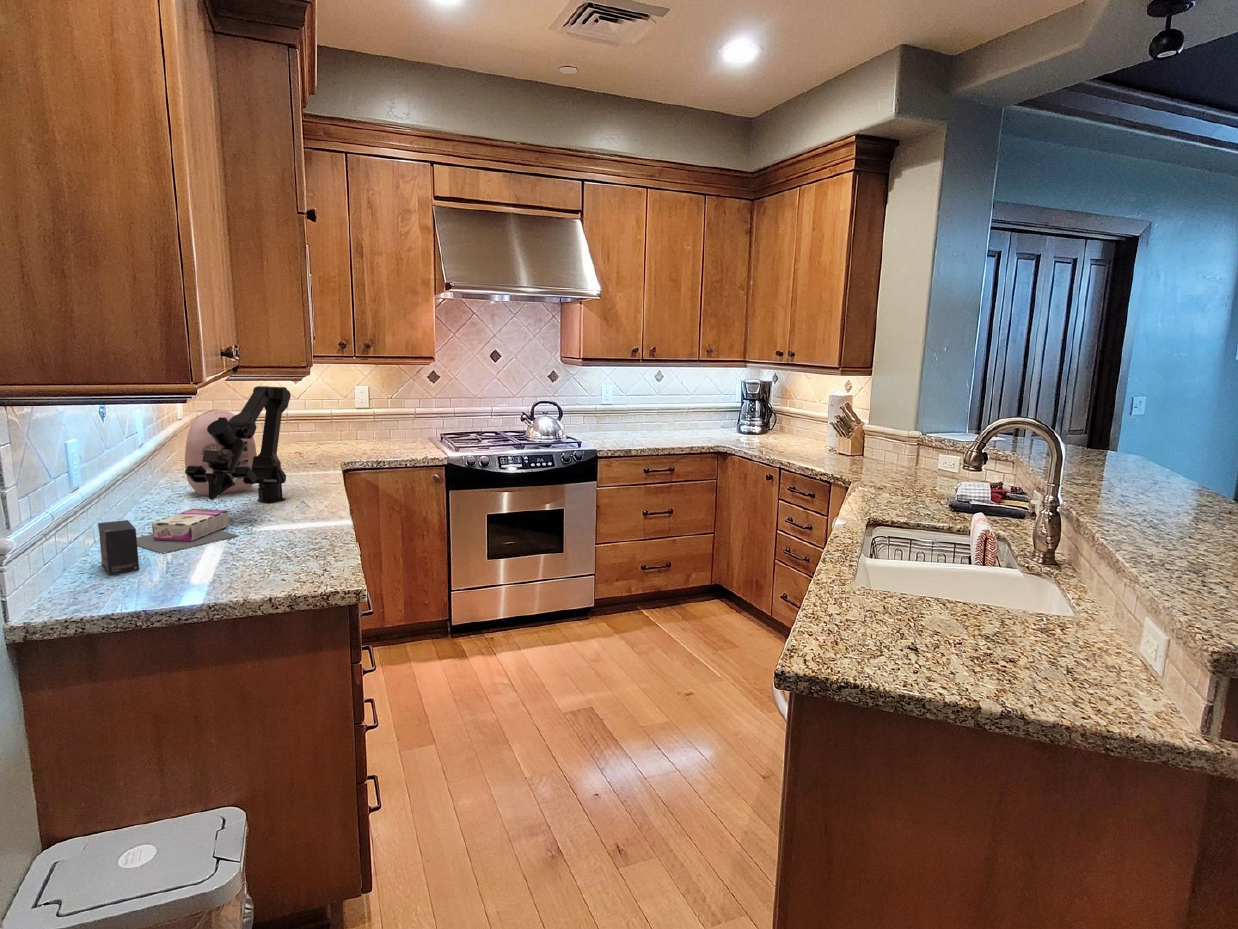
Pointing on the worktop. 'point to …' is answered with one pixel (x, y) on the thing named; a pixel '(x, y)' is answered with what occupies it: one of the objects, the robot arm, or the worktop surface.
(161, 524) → the candy bar box
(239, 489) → the packaged food
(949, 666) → the worktop surface
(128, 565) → the small box
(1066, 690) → the worktop surface
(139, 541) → the mat
